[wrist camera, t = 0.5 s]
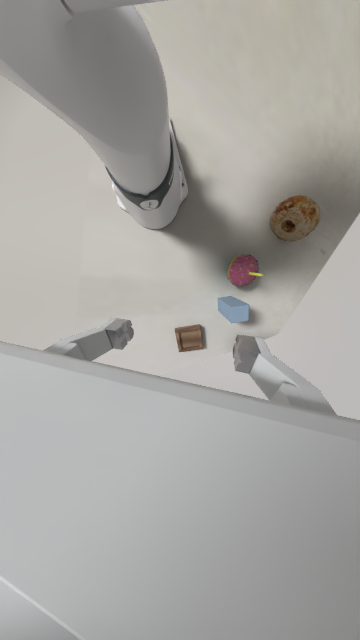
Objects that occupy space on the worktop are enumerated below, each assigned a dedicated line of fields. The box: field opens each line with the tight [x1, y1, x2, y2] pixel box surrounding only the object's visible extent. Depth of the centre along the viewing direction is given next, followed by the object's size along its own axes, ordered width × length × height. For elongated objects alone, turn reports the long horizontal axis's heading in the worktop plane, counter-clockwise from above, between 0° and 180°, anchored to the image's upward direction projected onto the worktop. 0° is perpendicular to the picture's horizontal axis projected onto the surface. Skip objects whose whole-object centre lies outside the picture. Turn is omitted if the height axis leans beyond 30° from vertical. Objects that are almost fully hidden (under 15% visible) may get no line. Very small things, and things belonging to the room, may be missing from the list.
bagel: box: [270, 196, 320, 241], centre depth 32 cm, size 10×4×10 cm, turn 50°
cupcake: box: [227, 255, 265, 286], centre depth 35 cm, size 9×8×12 cm
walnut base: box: [175, 325, 203, 352], centre depth 48 cm, size 9×9×2 cm
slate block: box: [218, 296, 249, 323], centre depth 39 cm, size 4×4×12 cm
